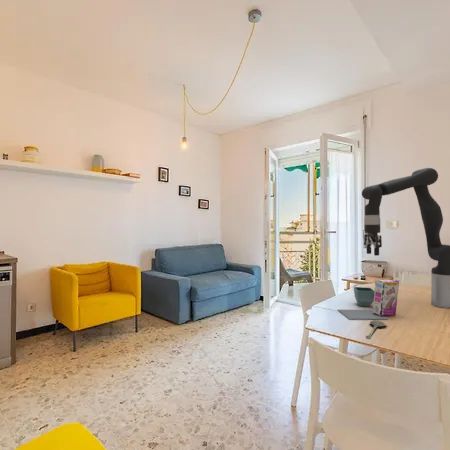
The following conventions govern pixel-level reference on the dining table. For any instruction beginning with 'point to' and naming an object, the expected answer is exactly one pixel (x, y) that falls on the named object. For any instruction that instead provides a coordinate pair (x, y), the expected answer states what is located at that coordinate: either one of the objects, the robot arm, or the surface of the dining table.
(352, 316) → the mat
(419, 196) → the robot arm
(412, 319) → the dining table surface
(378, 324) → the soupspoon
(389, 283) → the candy bar box
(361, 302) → the flower pot
